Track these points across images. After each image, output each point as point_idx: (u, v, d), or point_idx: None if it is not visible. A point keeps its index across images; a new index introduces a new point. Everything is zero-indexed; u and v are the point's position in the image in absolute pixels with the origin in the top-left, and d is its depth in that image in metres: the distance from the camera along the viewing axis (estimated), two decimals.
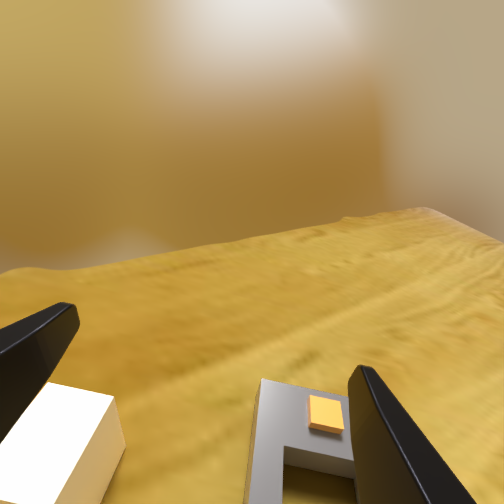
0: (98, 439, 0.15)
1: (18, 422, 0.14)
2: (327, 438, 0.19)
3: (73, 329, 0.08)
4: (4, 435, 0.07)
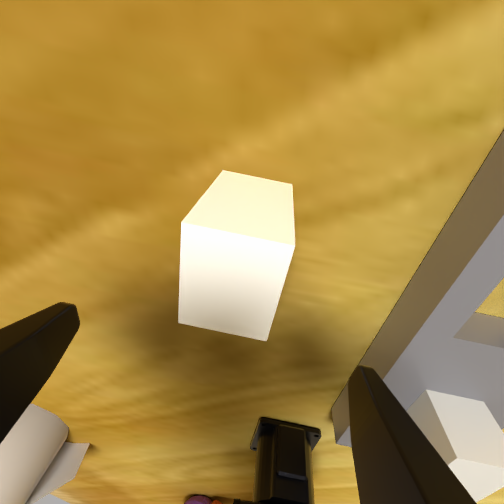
0: None
1: (182, 273, 0.10)
2: None
3: (73, 329, 0.08)
4: (4, 435, 0.07)
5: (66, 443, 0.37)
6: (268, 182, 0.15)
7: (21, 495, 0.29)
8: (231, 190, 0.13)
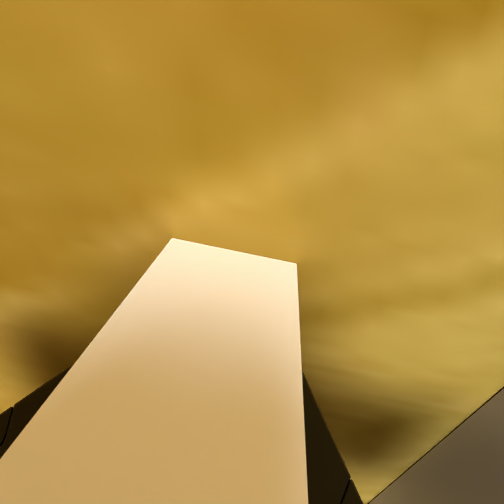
0: None
1: None
2: None
3: None
4: None
5: None
6: (252, 265, 0.08)
7: None
8: (167, 311, 0.06)
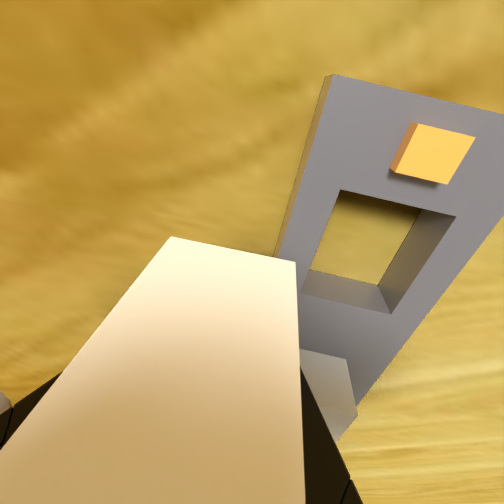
0: None
1: None
2: (412, 183, 0.13)
3: None
4: None
5: None
6: (250, 263, 0.08)
7: None
8: (165, 309, 0.06)
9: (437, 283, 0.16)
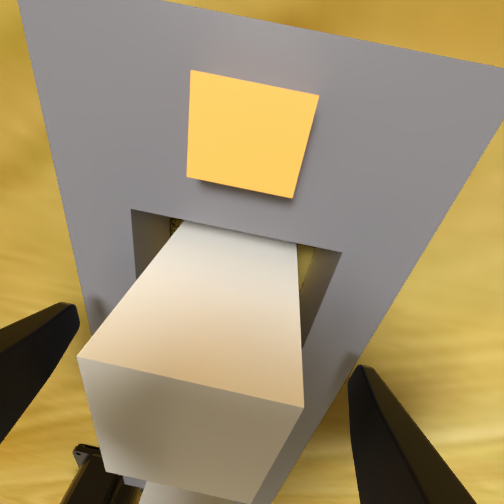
0: None
1: (98, 420, 0.06)
2: (248, 196, 0.07)
3: (73, 329, 0.08)
4: (4, 435, 0.07)
5: None
6: None
7: None
8: (200, 249, 0.08)
9: (340, 353, 0.10)
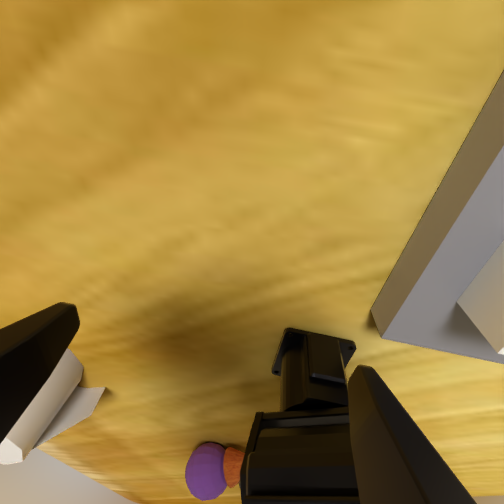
0: None
1: None
2: None
3: (73, 329, 0.08)
4: (4, 435, 0.07)
5: (79, 388, 0.34)
6: None
7: (33, 428, 0.25)
8: None
9: None
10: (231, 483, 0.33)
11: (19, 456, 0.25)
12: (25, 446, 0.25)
